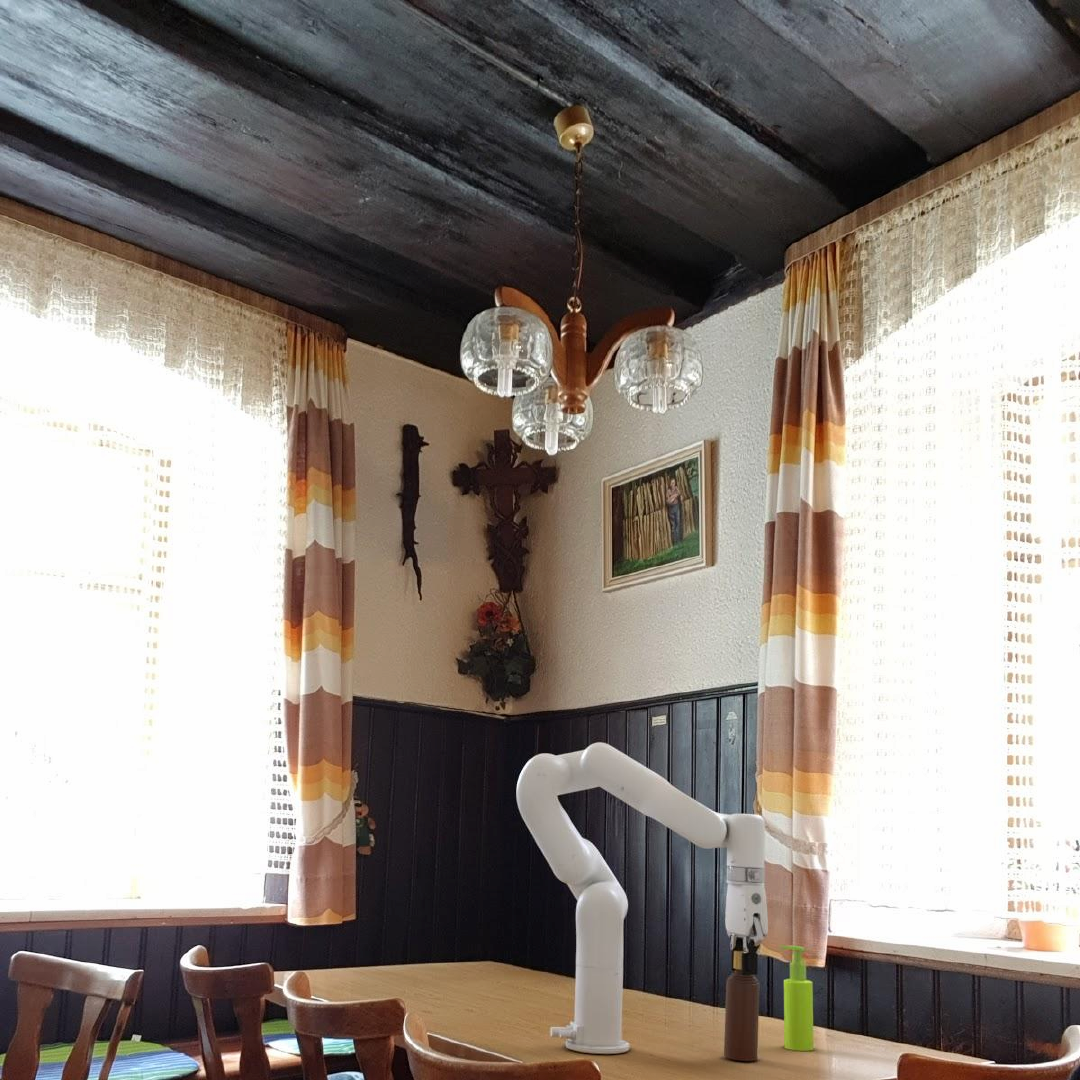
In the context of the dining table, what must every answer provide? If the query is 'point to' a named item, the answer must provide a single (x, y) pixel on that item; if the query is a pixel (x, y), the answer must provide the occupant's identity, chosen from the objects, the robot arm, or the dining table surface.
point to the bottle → (741, 1017)
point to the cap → (737, 960)
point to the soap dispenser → (798, 1005)
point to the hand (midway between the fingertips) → (744, 971)
